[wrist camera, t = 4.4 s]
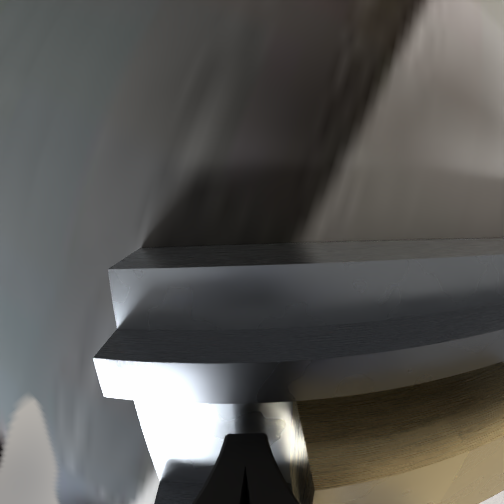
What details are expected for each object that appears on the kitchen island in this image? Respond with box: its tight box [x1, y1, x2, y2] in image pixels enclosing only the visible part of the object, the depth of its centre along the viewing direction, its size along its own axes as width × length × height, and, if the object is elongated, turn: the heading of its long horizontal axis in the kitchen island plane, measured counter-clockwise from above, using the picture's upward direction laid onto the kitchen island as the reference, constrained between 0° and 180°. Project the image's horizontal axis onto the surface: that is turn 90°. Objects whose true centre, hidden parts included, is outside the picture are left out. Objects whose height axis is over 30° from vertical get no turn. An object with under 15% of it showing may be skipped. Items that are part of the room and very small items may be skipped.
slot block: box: [93, 238, 504, 504], centre depth 10 cm, size 12×20×5 cm, turn 92°
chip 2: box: [419, 362, 504, 504], centre depth 8 cm, size 4×4×4 cm
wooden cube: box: [289, 384, 469, 504], centre depth 8 cm, size 4×4×4 cm
